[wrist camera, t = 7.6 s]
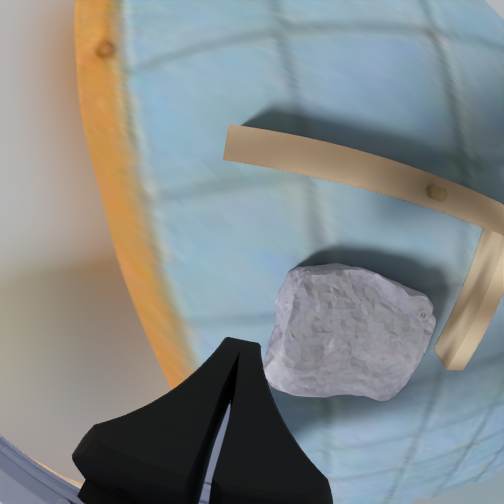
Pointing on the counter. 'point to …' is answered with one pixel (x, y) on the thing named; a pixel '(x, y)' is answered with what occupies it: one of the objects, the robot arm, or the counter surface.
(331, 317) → the stone block
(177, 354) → the counter surface
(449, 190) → the fence
